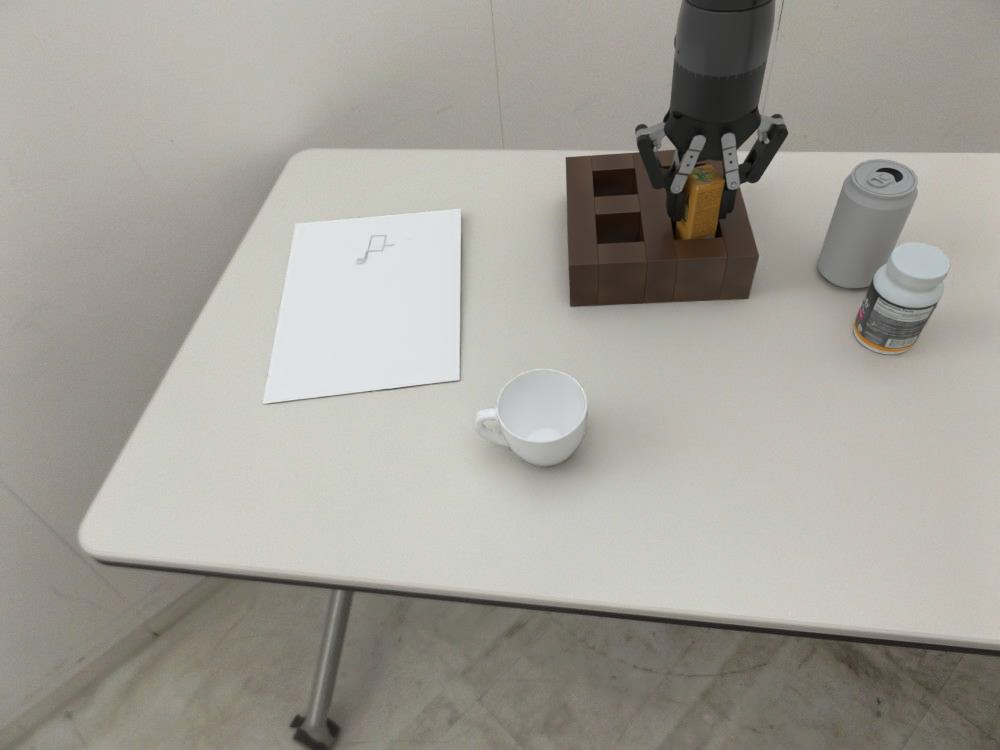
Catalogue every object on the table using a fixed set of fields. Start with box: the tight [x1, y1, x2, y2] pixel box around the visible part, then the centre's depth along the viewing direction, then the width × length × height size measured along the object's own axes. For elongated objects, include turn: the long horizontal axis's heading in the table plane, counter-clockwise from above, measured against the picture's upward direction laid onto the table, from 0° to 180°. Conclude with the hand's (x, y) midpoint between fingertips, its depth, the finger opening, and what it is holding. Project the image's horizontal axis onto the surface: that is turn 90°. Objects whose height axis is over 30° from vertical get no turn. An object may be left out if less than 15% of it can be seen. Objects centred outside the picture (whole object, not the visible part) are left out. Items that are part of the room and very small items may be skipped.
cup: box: [473, 368, 589, 467], centre depth 61 cm, size 8×10×7 cm
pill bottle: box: [852, 241, 951, 355], centre depth 63 cm, size 6×6×10 cm
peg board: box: [565, 149, 760, 307], centre depth 76 cm, size 19×19×6 cm
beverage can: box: [816, 158, 919, 289], centre depth 68 cm, size 6×6×12 cm
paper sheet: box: [262, 208, 462, 405], centre depth 78 cm, size 24×29×1 cm
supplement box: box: [674, 165, 725, 241], centre depth 70 cm, size 3×3×10 cm
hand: (698, 214), depth 70 cm, fingers closed on supplement box, 3 cm apart
